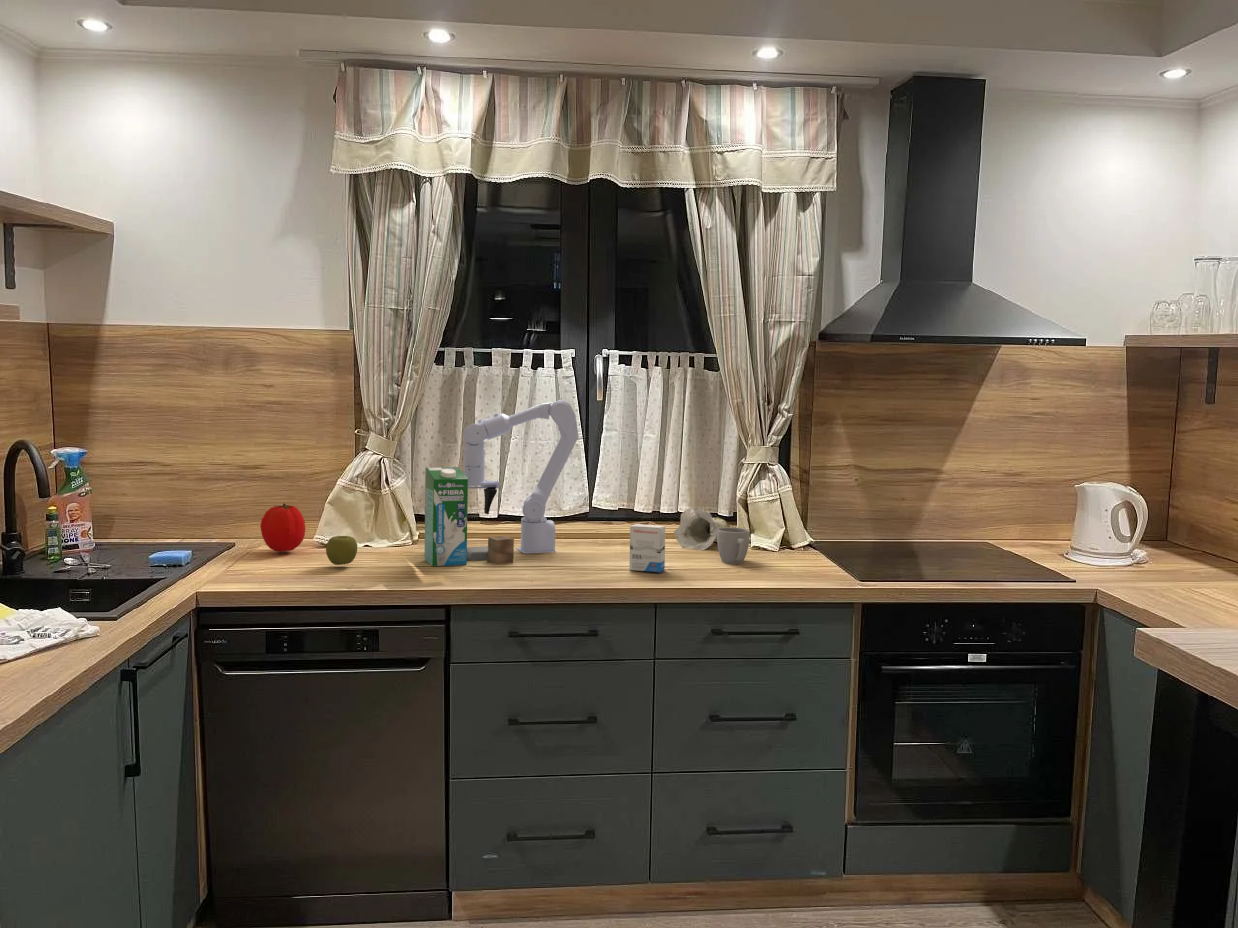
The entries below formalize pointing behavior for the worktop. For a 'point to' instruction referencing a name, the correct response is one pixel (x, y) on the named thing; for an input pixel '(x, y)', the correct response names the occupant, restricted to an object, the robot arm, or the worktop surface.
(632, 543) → the ink box
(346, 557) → the apple
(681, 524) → the wavy rim vase
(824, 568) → the worktop surface
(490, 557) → the walnut block
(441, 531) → the milk carton
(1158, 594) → the worktop surface
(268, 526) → the tomato
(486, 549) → the coaster block
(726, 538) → the mug
